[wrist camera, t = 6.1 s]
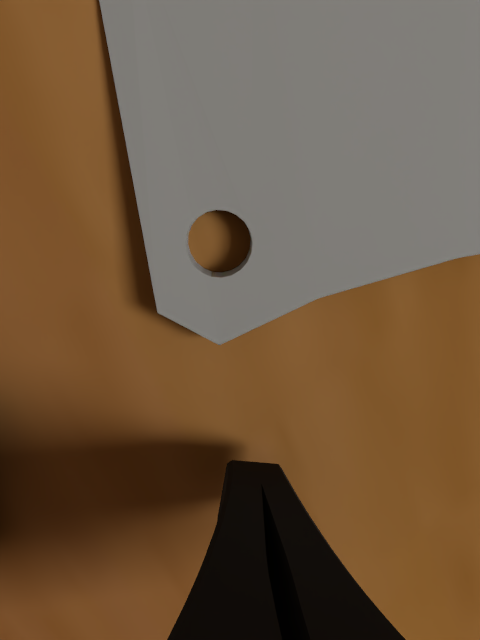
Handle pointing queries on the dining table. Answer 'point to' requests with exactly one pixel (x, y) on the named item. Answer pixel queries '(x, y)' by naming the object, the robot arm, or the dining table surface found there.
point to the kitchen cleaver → (297, 144)
